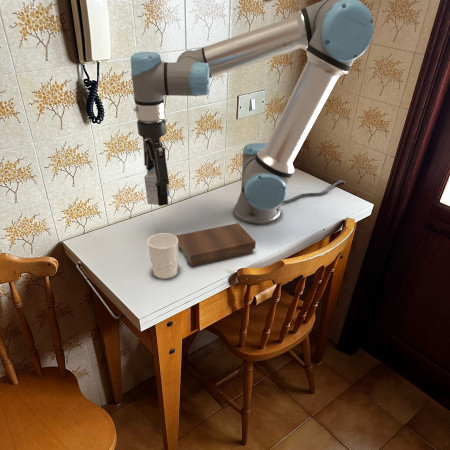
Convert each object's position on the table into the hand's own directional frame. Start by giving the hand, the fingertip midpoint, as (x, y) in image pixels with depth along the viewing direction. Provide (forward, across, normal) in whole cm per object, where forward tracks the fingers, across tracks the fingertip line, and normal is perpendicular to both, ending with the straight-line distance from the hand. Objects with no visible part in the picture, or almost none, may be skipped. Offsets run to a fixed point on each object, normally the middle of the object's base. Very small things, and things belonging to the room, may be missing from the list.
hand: (158, 197), depth 131 cm
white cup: (+12, +21, -5) cm, 25 cm away
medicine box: (+1, 0, 0) cm, 1 cm away
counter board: (+12, +16, +12) cm, 23 cm away
